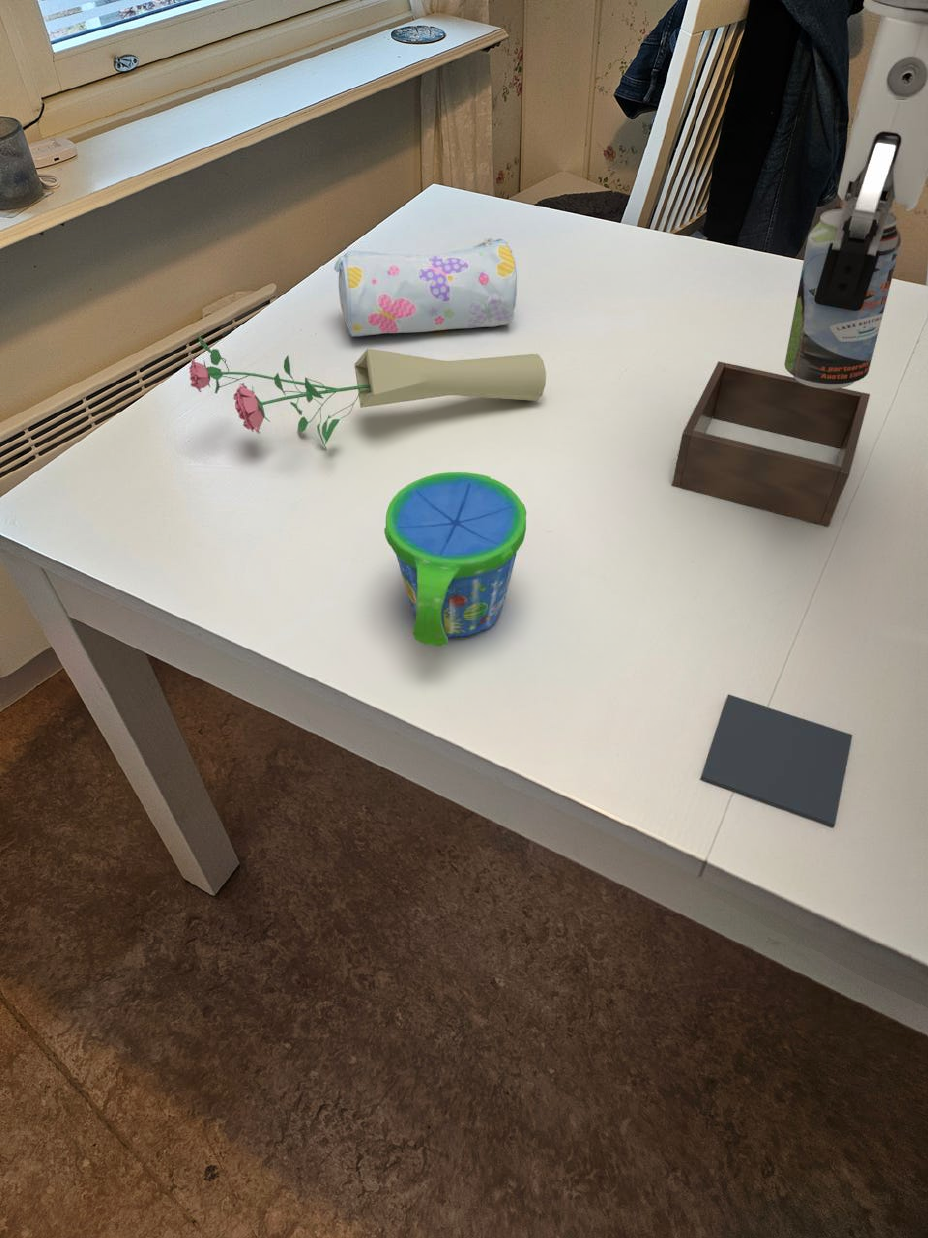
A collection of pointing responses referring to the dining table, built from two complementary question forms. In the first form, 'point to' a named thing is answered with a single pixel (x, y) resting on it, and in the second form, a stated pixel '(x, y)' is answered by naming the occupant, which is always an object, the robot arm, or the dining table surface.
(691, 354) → the dining table surface
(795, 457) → the open wooden box
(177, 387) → the dining table surface
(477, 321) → the pencil case
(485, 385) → the flower vase
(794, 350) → the beverage can
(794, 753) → the mat
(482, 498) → the snack cup
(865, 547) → the dining table surface
